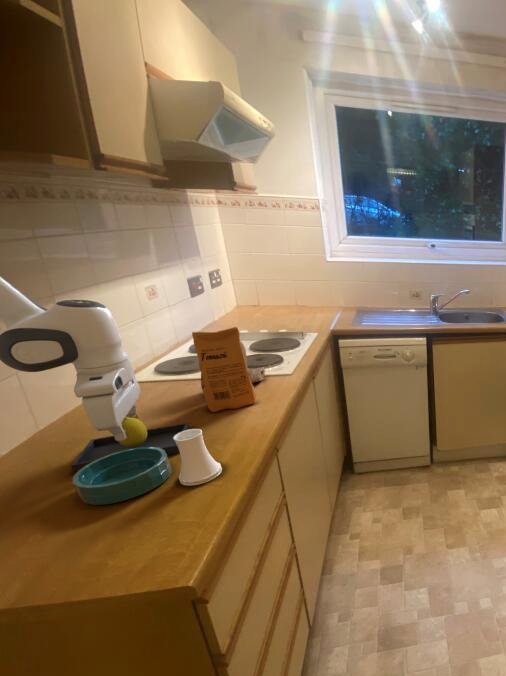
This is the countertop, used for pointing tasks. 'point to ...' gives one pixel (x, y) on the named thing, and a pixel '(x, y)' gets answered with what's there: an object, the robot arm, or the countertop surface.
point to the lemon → (133, 432)
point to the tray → (109, 446)
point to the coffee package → (223, 370)
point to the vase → (195, 458)
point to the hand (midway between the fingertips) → (128, 429)
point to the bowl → (122, 475)
